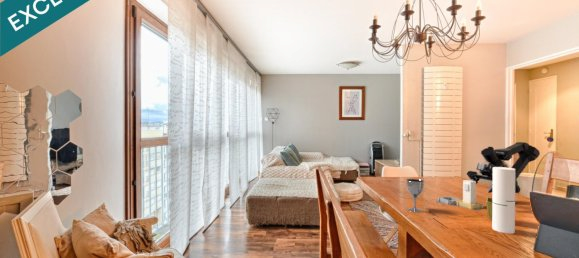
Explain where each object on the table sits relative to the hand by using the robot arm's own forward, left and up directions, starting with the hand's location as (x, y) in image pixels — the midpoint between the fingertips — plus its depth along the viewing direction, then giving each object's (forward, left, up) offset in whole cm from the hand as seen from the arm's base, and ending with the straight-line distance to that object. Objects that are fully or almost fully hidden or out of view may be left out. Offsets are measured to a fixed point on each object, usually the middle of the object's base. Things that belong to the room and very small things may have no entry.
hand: (479, 190), depth 141 cm
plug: (+7, -3, -7) cm, 11 cm away
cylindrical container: (+31, +16, -9) cm, 36 cm away
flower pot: (+19, +12, -9) cm, 24 cm away
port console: (+7, -7, -8) cm, 13 cm away
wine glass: (+32, -19, -9) cm, 38 cm away
